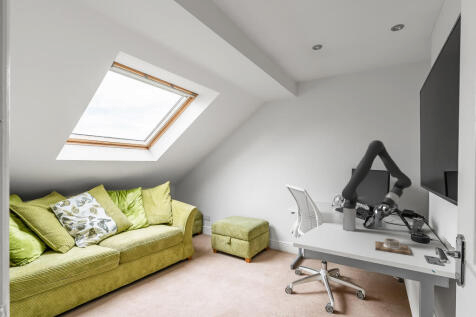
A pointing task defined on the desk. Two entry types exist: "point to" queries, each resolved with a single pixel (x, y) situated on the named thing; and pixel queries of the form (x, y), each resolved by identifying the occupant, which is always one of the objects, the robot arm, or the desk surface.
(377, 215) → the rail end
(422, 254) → the desk surface
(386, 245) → the cup bracket
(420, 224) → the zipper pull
